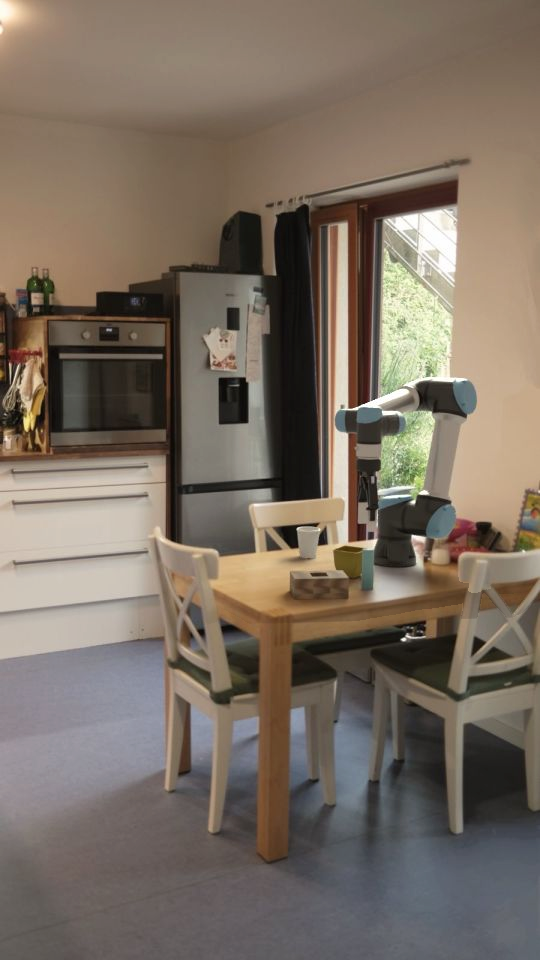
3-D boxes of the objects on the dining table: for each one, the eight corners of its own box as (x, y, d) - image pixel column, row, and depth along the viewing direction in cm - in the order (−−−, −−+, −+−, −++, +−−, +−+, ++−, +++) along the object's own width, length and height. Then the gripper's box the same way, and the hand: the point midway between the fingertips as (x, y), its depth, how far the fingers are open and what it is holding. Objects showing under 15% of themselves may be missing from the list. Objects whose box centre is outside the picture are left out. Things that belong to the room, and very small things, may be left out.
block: (342, 589, 296) (342, 570, 296) (348, 598, 286) (348, 578, 286) (289, 590, 294) (290, 571, 294) (294, 599, 285) (294, 578, 284)
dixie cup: (316, 560, 337) (316, 531, 336) (293, 558, 340) (293, 529, 338) (322, 555, 345) (323, 527, 344) (299, 553, 347) (300, 525, 346)
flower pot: (368, 575, 315) (369, 548, 314) (356, 580, 308) (357, 552, 307) (344, 572, 320) (344, 545, 318) (331, 577, 312) (332, 549, 311)
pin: (371, 586, 300) (372, 548, 299) (374, 589, 297) (375, 550, 295) (360, 587, 300) (361, 548, 298) (362, 589, 296) (363, 551, 295)
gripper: (348, 453, 305) (347, 520, 308) (364, 462, 280) (362, 535, 283) (372, 453, 306) (370, 520, 309) (390, 462, 281) (388, 535, 284)
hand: (366, 527), depth 296 cm, fingers open, 13 cm apart
